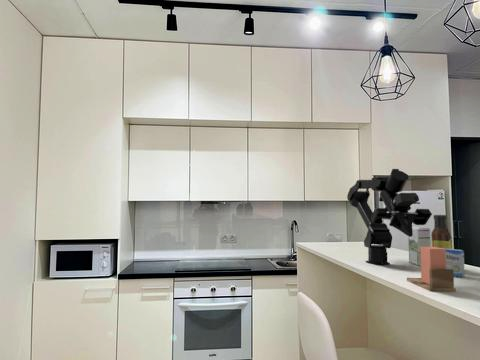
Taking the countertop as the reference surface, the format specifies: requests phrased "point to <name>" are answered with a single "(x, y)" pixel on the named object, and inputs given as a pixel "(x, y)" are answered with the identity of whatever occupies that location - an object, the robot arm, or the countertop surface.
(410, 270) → the countertop surface
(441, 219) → the sauce bottle
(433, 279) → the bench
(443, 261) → the pink tall block
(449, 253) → the medicine box
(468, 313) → the countertop surface
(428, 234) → the syrup box
